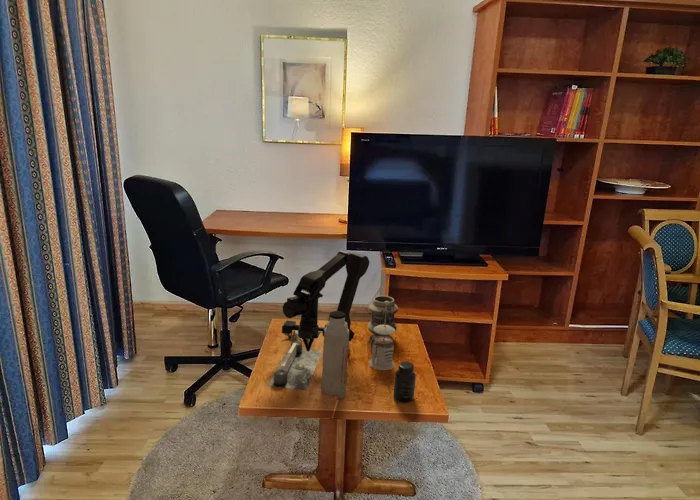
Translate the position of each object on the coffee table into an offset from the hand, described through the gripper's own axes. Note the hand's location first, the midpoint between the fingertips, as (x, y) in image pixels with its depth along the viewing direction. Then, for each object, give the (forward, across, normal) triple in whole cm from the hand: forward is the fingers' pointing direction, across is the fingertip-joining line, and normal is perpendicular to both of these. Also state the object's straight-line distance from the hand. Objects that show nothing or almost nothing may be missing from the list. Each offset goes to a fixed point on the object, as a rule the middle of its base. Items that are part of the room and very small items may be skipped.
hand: (308, 351), depth 174 cm
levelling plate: (+6, -3, -4) cm, 8 cm away
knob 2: (+4, -6, +3) cm, 8 cm away
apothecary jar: (+6, +25, +29) cm, 39 cm away
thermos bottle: (+6, +12, -16) cm, 21 cm away
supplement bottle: (+6, +35, -14) cm, 38 cm away
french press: (+6, +26, +7) cm, 28 cm away
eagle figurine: (+6, -9, +15) cm, 19 cm away
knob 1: (+4, -6, -11) cm, 13 cm away
